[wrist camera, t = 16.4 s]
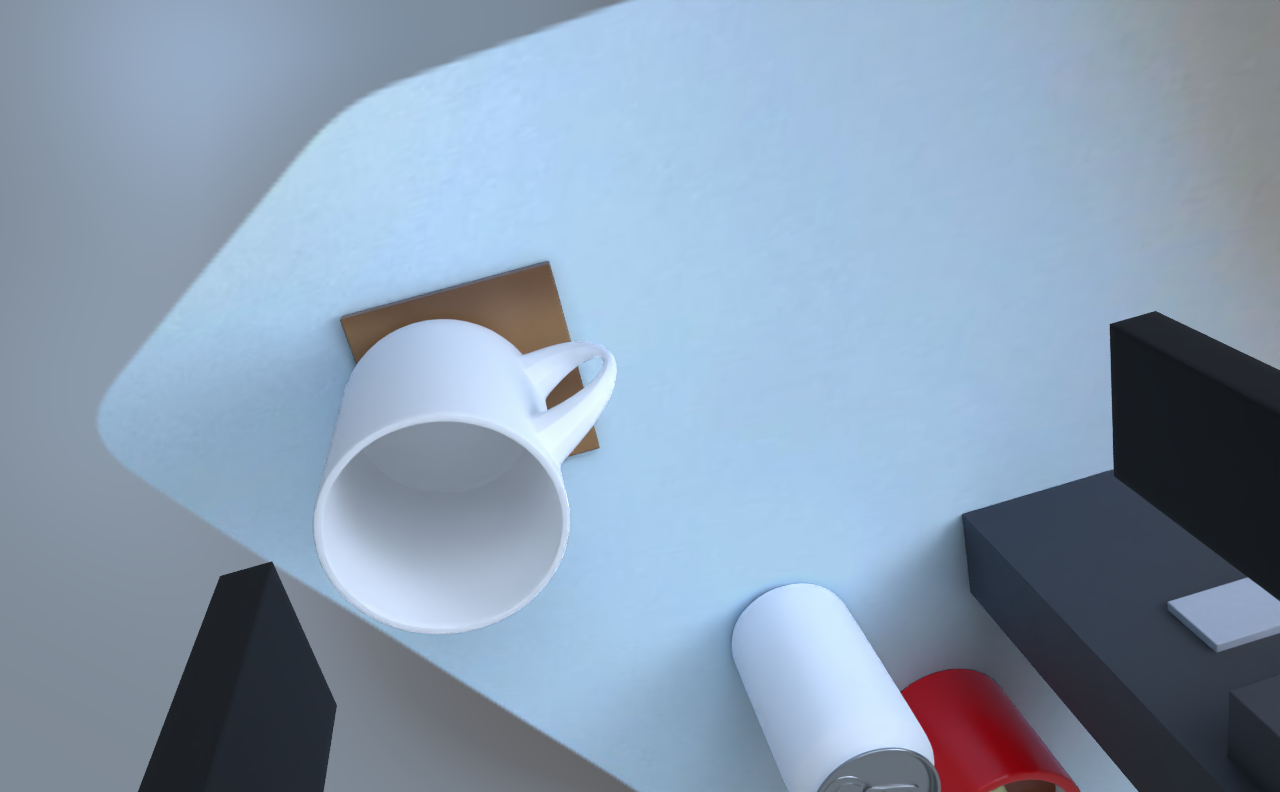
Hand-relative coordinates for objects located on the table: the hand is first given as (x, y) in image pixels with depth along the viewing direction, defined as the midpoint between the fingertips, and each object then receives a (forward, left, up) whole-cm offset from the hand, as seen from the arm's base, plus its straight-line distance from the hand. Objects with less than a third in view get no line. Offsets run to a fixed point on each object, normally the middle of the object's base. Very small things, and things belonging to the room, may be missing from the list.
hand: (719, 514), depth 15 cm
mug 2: (+37, +15, -29) cm, 49 cm away
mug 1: (+8, -5, -28) cm, 30 cm away
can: (+26, +6, -29) cm, 39 cm away
